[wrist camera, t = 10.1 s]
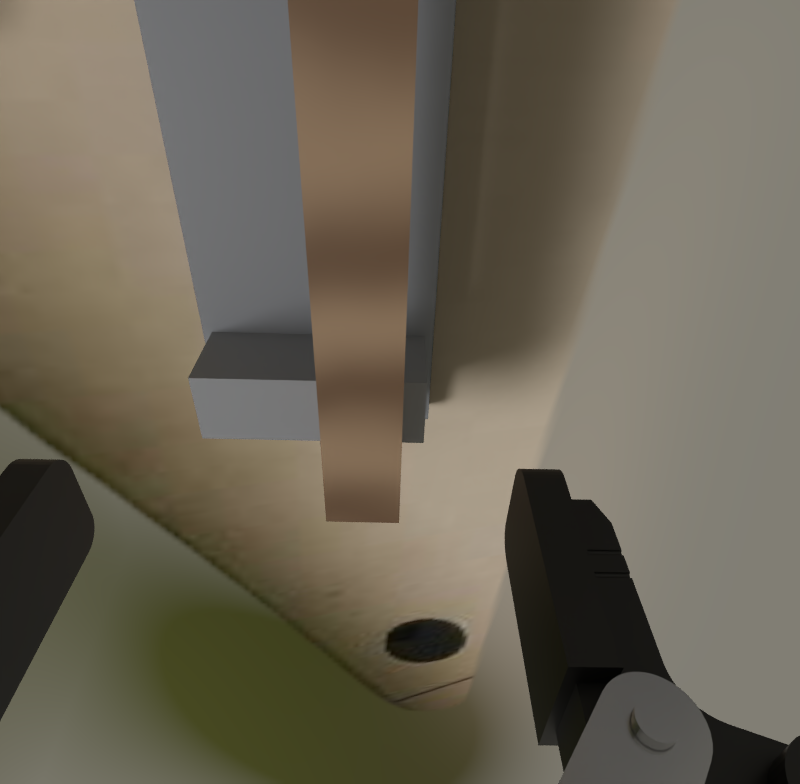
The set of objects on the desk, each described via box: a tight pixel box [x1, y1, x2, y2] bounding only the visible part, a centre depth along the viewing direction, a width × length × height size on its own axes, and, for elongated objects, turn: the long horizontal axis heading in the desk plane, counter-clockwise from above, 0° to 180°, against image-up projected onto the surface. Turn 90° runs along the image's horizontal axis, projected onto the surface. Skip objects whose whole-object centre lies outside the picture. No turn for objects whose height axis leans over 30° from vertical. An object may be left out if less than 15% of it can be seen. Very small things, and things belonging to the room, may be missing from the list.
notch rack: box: [134, 0, 456, 443], centre depth 25 cm, size 30×13×9 cm, turn 179°
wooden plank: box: [288, 0, 418, 523], centre depth 22 cm, size 28×4×5 cm, turn 179°
